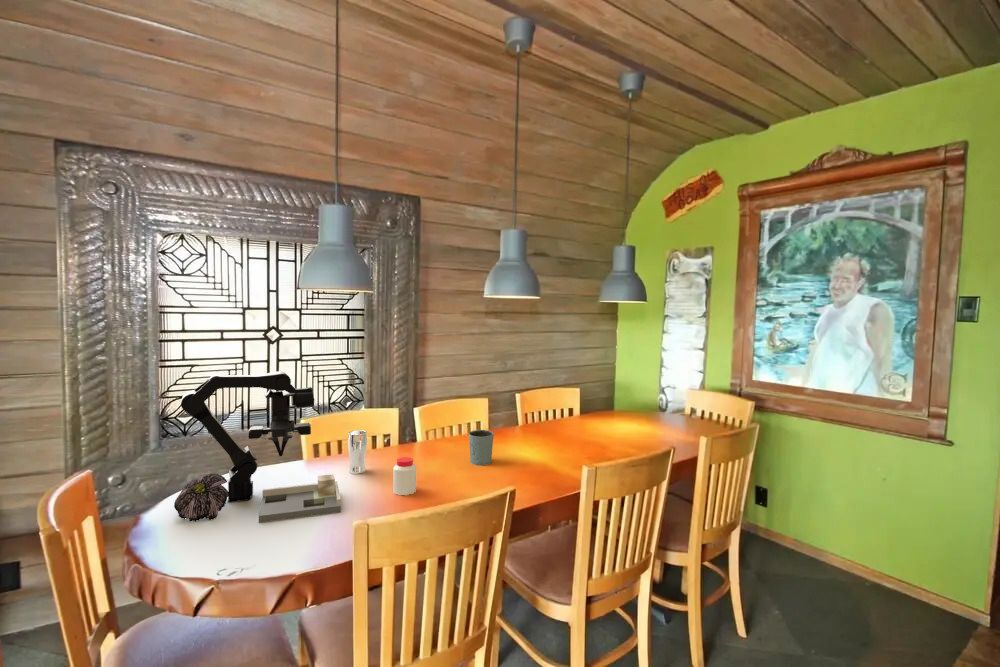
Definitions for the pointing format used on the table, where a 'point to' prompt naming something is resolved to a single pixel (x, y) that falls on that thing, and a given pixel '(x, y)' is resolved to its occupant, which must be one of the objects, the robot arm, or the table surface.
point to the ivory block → (326, 485)
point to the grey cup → (481, 446)
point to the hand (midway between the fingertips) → (280, 455)
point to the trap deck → (297, 502)
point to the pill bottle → (404, 476)
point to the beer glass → (357, 451)
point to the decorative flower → (202, 498)
